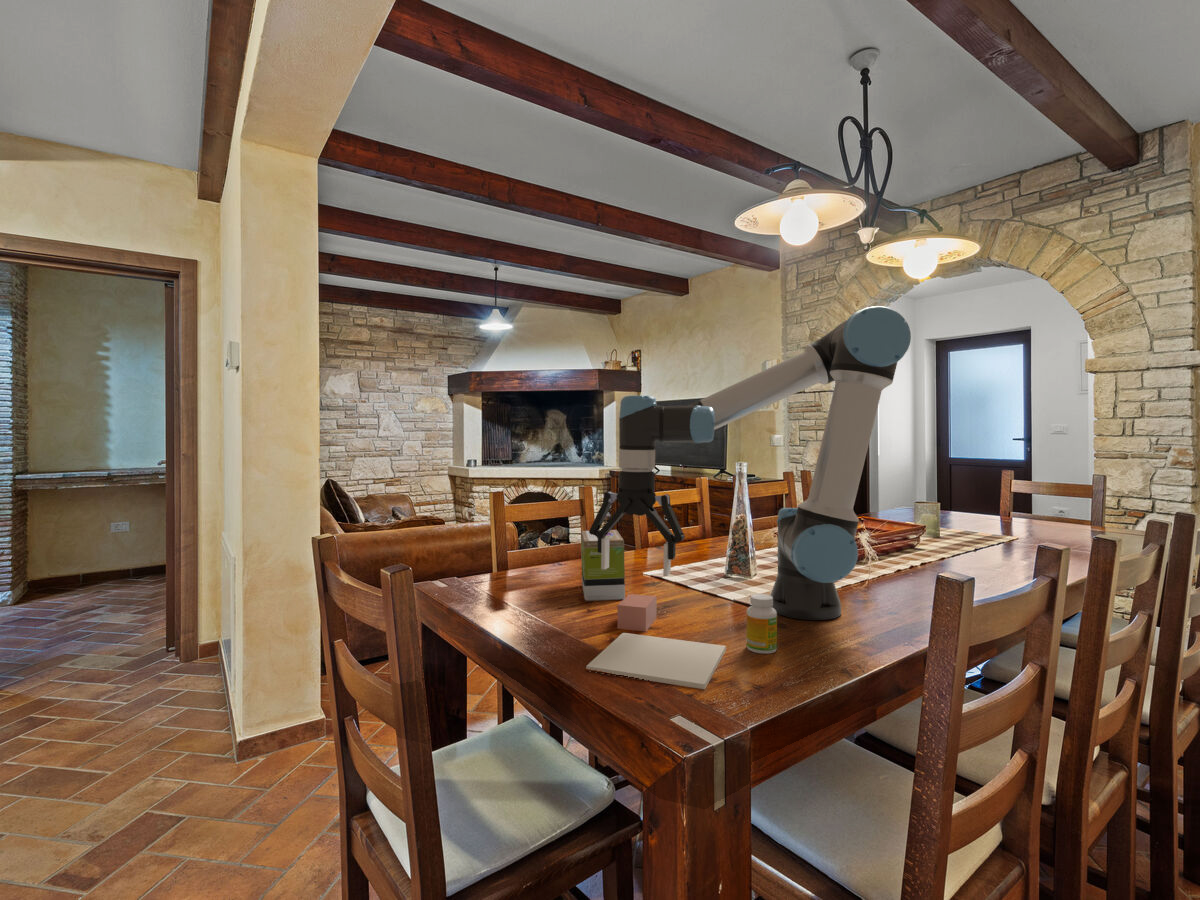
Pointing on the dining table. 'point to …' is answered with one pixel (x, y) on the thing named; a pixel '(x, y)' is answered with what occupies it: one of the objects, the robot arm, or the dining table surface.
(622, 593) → the tea box
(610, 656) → the mat
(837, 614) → the robot arm
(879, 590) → the dining table surface
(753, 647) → the supplement bottle
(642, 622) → the reddish brown rectangular block
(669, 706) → the dining table surface
